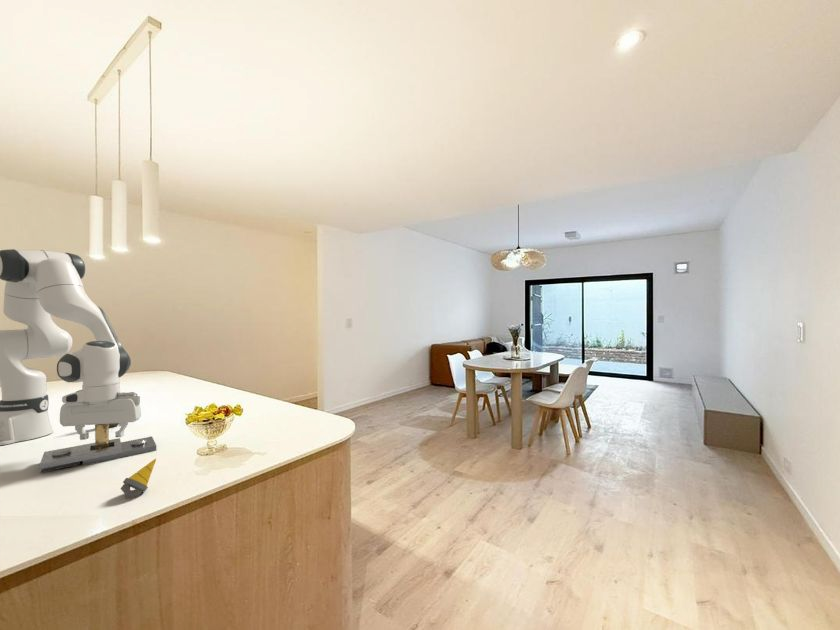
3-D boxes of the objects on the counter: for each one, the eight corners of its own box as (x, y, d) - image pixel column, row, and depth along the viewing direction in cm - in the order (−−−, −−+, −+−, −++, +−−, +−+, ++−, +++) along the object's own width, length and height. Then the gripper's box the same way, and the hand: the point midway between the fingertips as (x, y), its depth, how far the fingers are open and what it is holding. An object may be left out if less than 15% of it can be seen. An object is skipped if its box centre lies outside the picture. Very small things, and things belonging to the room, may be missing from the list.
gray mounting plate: (39, 474, 99) (39, 461, 99) (44, 461, 108) (44, 449, 108) (156, 450, 117) (156, 438, 117) (152, 440, 126) (151, 429, 126)
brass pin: (92, 458, 111) (92, 425, 111) (99, 454, 114) (99, 422, 114) (104, 457, 111) (104, 424, 111) (111, 453, 114) (111, 421, 114)
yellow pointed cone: (116, 497, 88) (148, 457, 94) (138, 505, 88) (167, 465, 95) (110, 491, 84) (143, 451, 90) (132, 500, 84) (164, 459, 91)
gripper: (145, 389, 118) (145, 432, 118) (71, 393, 113) (71, 437, 113) (134, 393, 111) (134, 438, 112) (55, 397, 107) (56, 444, 107)
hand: (102, 437), depth 112 cm, fingers open, 8 cm apart
